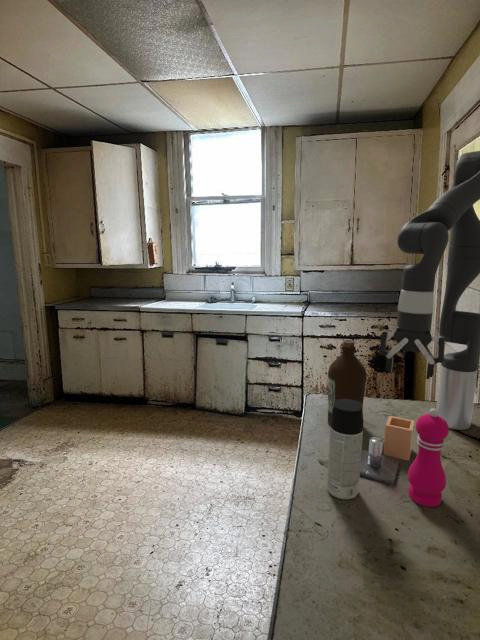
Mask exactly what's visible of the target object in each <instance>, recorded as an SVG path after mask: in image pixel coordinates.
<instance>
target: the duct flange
mask: <svg viewBox="0 0 480 640" xmlns="http://www.w3.org/2000/svg"><path fill="white" fill-rule="evenodd" d="M368 441H369V444H368V450H366V449H362V451H361V464H360V477H364V478H368V479H371V480H374V481H379V482H382V483H387V484H390V485H394V484H395V481H396V477H397V473H398V469H399V465H400V460H401V459H400V458H395V457H391V456H387V455H383V449H384V439H382V438H380V437H376V436H371V437H370V438H369V440H368Z"/></svg>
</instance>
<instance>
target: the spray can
mask: <svg viewBox="0 0 480 640" xmlns="http://www.w3.org/2000/svg"><path fill="white" fill-rule="evenodd" d="M363 408H364V404H363V405H362V403H360V402H358V401H356V400H352V399H337V400H335V401H334V405H333V410H332V415H331V422H330V425H329V442H328V443H329V444H328V460H327V461H328V462H327V475H326V476H327V477H326V488H327V492H328V493H329V494H330V496H333V497H334V498H336V499H339V500H353V499H354V498H356V497H357V496H358V494H359V490H360V489H359V486H360V477H361V476H360V464H361V451H362V450H363V449H362V448H363V437H364V435H363V433H364V421H365V420H364V411H363Z"/></svg>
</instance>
